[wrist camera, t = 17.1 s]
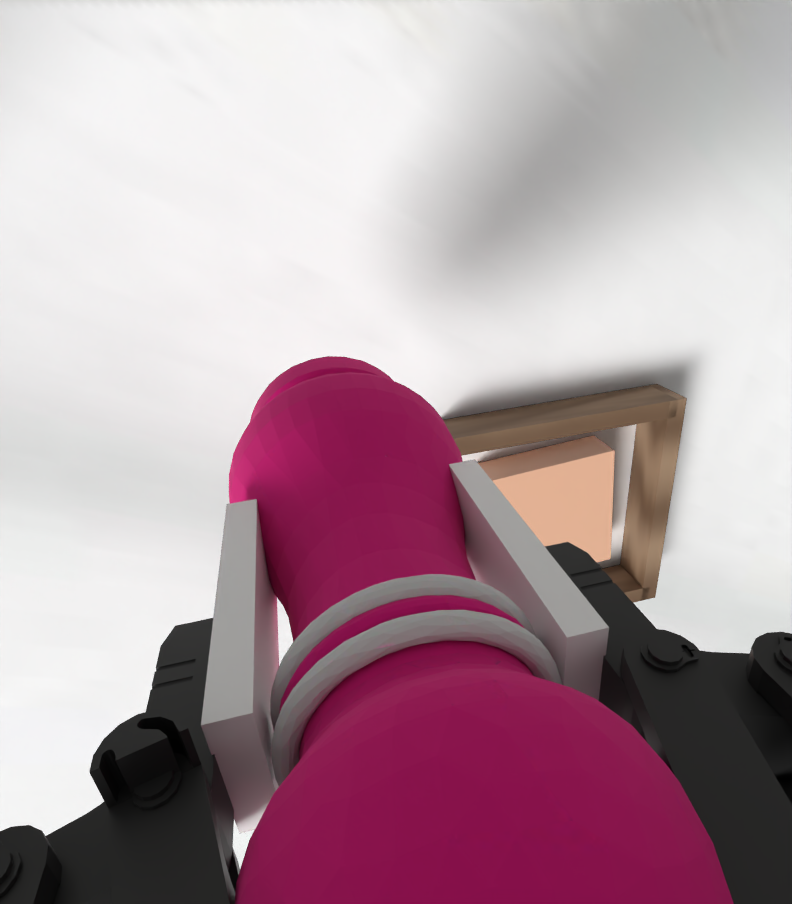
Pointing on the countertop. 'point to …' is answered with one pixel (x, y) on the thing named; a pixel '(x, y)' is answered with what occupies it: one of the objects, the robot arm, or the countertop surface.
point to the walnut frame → (649, 473)
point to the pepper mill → (428, 689)
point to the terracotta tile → (562, 492)
